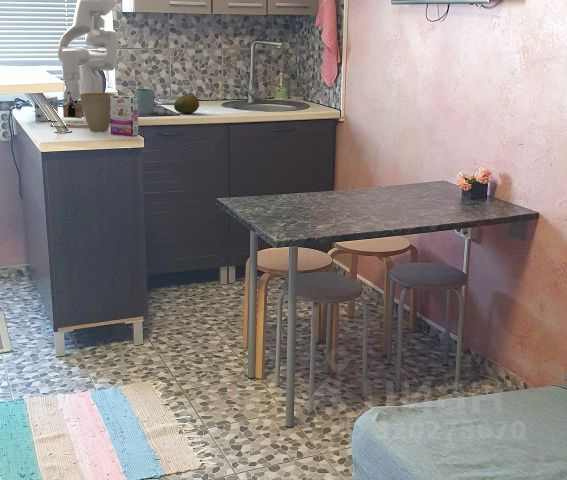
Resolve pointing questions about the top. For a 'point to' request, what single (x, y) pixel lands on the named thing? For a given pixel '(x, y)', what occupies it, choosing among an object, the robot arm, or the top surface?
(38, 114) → the light bulb box
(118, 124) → the candy bar box
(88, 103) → the plant pot
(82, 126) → the board
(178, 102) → the fruit
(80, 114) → the sanding block
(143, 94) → the blue-green cup
